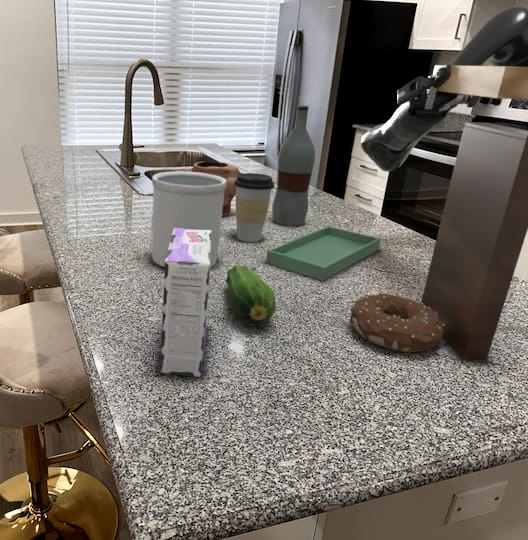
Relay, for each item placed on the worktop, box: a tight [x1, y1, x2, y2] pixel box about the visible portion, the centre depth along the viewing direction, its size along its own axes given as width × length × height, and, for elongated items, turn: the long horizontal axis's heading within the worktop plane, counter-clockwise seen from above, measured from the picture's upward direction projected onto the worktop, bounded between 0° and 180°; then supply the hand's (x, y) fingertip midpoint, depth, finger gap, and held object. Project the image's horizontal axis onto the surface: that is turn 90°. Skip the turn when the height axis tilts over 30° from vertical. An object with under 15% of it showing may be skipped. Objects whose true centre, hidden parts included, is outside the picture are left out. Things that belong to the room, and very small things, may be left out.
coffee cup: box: [234, 172, 276, 243], centre depth 121 cm, size 9×9×15 cm
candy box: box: [159, 228, 212, 378], centre depth 71 cm, size 14×6×16 cm, turn 174°
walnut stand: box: [420, 121, 528, 362], centre depth 76 cm, size 4×16×32 cm, turn 177°
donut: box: [349, 292, 445, 353], centre depth 80 cm, size 14×14×5 cm
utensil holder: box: [151, 170, 227, 268], centre depth 106 cm, size 15×15×18 cm
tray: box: [265, 225, 382, 282], centre depth 114 cm, size 27×13×3 cm, turn 137°
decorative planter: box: [177, 160, 241, 217], centre depth 141 cm, size 20×12×14 cm, turn 91°
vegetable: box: [225, 264, 277, 327], centre depth 88 cm, size 7×7×20 cm
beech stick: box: [432, 64, 528, 101], centre depth 78 cm, size 4×22×4 cm, turn 177°
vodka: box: [271, 104, 316, 227], centre depth 133 cm, size 9×9×30 cm
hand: (464, 70), depth 82 cm, fingers closed on beech stick, 4 cm apart
